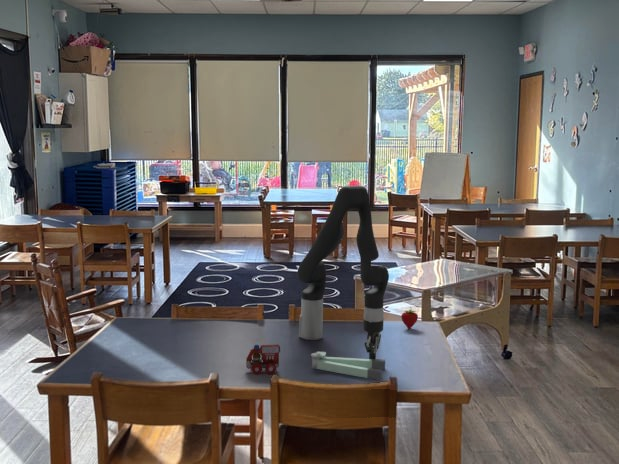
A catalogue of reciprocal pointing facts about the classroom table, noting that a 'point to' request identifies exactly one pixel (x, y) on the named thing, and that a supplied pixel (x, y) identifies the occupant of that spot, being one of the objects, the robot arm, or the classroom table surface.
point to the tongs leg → (347, 369)
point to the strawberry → (409, 318)
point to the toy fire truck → (263, 359)
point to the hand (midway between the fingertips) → (372, 361)
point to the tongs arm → (353, 361)
